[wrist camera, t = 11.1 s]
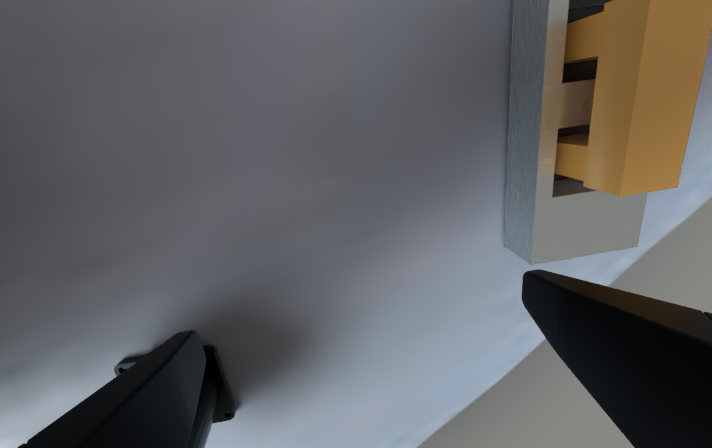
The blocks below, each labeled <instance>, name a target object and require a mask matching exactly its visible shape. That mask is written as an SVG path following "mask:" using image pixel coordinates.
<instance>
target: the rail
mask: <svg viewBox="0 0 712 448" xmlns="http://www.w3.org/2000/svg"><path fill="white" fill-rule="evenodd" d="M610 1H613V0H513V10H512V38H511V66H510V94H509V122H508V149H507V177H506V205H505V233H504V246H505V247H506V248H508V249H509V250H511V251H512V252H513V253H515V254H516V255H518V256H519V257H520V258H522V259H523V260H525V261H526V262H528V263H529V264H530V265H534V264H540V263H546V262H551V261H557V260H563V259H569V258H574V257H580V256H586V255H592V254H597V253H603V252H609V251H615V250H620V249H626V248H632V247H637V245H638V240H639V234H640V229H641V224H642V218H643V213H644V208H645V202H646V197H647V192H645V193H639V194H632V195H626V196H620V197H619V196H615V195H612V194H608V193H605V192H601V191H598V190H594V189H590V188H587V187H583V183H584V181H582V180H578V179H574V178H571V179H565V180H558V181H554V170H555V159H556V147H557V135H558V129H559V128H566V127H573V126H580V125H587V124H590V123H591V115H592V106H593V98H594V89H595V81H596V79H588V80H580V81H573V82H565V83H562V77H563V66H564V54H565V42H566V31H567V19H568V9H575V8H584V7H593V6H602V5H604V4H605V3H608V2H610Z"/></svg>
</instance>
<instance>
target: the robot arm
mask: <svg viewBox="0 0 712 448" xmlns="http://www.w3.org/2000/svg"><path fill="white" fill-rule="evenodd" d="M522 301H523V304H524V306H525V308H526V309H527V311H528V312H529V314H530V315H531V317H532V318H533V320H534V321H535V323H536V324H537V326H538V327H539V328H540V330H541V331H542V333H543V334H544V336H545V337H546V339H547V340H548V342H549V343H550V345H551V346H552V347H553V349H554V350H555V351H556V353H557V354H558V355H559V357H560V358H561V359H562V360H563V362H564V363H565V364H566V365H567V366H568V368H569V369H570V370H571V371H572V373H573V374H574V375H575V376H576V377H577V379H578V380H579V381H580V382H581V383H582V385H583V386H584V387H585V388H586V389H587V391H588V392H589V393H590V394H591V395H592V397H593V398H594V399H595V400H596V402H597V403H598V404H599V405H600V406H601V408H602V409H603V410H604V411H605V412H606V414H607V415H608V416H609V417H610V418H611V420H612V421H613V422H614V423H615V424H616V426H617V427H618V428H619V429H620V430H621V432H622V433H623V434H624V435H625V437H626V438H627V439H628V440H629V441H630V443H631V444H632V445H633V446H634V447H635V448H712V313H708V312H704V313H703V312H702V311H700V310H696V309H692V308H688V307H685V306H680V305H677V304H673V303H669V302H665V301H661V300H657V299H653V298H649V297H645V296H642V295H638V294H634V293H630V292H626V291H622V290H618V289H614V288H611V287H607V286H603V285H599V284H595V283H591V282H587V281H583V280H579V279H575V278H572V277H568V276H564V275H560V274H556V273H552V272H548V271H544V270H532V271H527V272H525V273H524V275H523V284H522ZM205 352H208V353H210V354H206V353H205ZM123 368H125V369H123ZM114 371H115V374H116V376H117V377H116V378H114V379H113V380H111V381H110V382H109V383H107V384H106V385H105V386H103V387H102V388H100V389H99V390H98V391H96V392H95V393H93V394H92V395H91V396H89V397H88V398H86V399H85V400H84V401H82V402H81V403H79V404H78V405H77V406H75V407H74V408H72V409H71V410H70V411H68V412H67V413H65V414H64V415H63V416H61V417H60V418H59V419H57V420H56V421H54V422H53V423H52V424H50V425H49V426H47V427H46V428H45V429H43V430H42V431H40V432H39V433H38V434H36V435H35V436H33V437H32V438H31V439H29V440H28V442H27V444H22V445H21V446H19V447H18V448H204V447H205V444H206V441H207V438H208V435H209V432H210V429H211V425H212V423H217V422H222V421H227V420H231V419H232V418H234V416H235V412H236V409H235V406H234V403H233V400H232V397H231V394H230V391H229V388H228V385H227V382H226V379H225V375H224V372H223V369H222V366H221V363H220V360H219V357H218V354H217V351H216V349H215V348H214V347H213V346H210V345H206V346H202V344H201V341H200V338H199V335H198V333H197V332H196V331H194V330H190V331H184V332H179V333H177V334H176V335H174V336H173V337H171V338H170V339H169V340H167V341H166V342H164V343H163V344H162V345H160V346H159V347H157V348H156V349H155V350H153V351H152V352H151V353H149V354H148V355H146V356H142V357H139V358H134V359H128V360H123V361H120V362H119V363H118V364H117V366H116V367H115V369H114ZM227 412H229V413H227Z"/></svg>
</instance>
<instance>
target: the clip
mask: <svg viewBox="0 0 712 448" xmlns="http://www.w3.org/2000/svg"><path fill="white" fill-rule="evenodd" d="M711 31H712V0H613V1H610V2H608V3H605V4H604V11H603V12H600V13H597V14H595V15H592V16H589V17H586V18H583V19H580V20H577V21H574V22H571V23H568V24H567V31H566V42H565V54H564V64H567V63H575V62H583V61H591V60H596V59H598V64H597V72H596V81H595V89H594V98H593V106H592V115H591V123H590V132H589V134H576V135H569V136H562V137H557V147H556V159H555V170H554V173H555V174H559V175H562V176H566V177H570V178H574V179H578V180H582V181H584V183H583V187H587V188H590V189H594V190H598V191H601V192H605V193H608V194H612V195H615V196H619V197H620V196H626V195H632V194H639V193H645V192H651V191H657V190H663V189H670V188H676V187H678V183H679V178H680V173H681V169H682V164H683V160H684V155H685V150H686V146H687V141H688V137H689V132H690V128H691V123H692V118H693V114H694V109H695V105H696V100H697V95H698V91H699V86H700V82H701V77H702V73H703V68H704V63H705V59H706V54H707V50H708V45H709V41H710V36H711Z"/></svg>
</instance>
